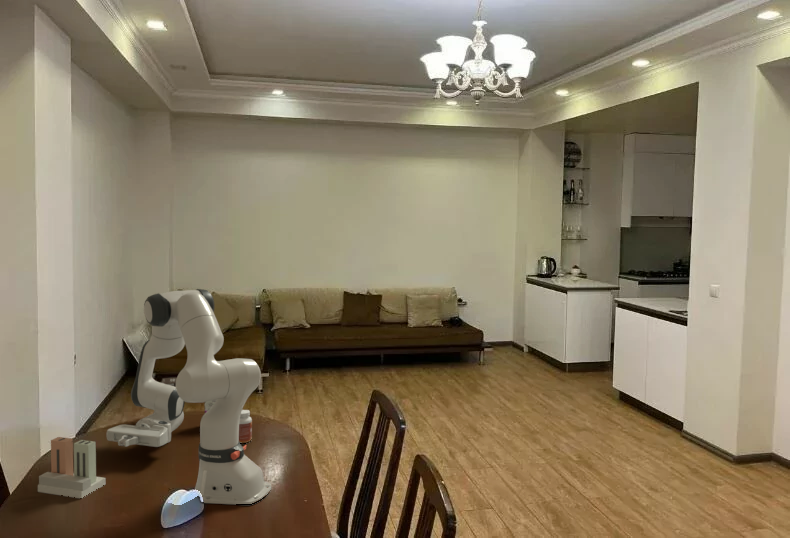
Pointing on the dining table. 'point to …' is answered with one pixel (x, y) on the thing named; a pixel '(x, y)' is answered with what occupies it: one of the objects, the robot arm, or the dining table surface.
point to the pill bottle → (245, 426)
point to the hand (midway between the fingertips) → (122, 443)
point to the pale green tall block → (85, 459)
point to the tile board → (73, 492)
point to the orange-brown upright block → (62, 456)
